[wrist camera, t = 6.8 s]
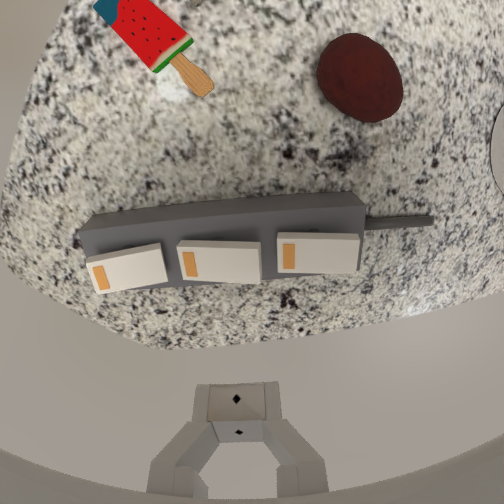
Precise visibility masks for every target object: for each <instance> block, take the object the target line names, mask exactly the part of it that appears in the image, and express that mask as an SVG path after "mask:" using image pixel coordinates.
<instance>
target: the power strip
mask: <svg viewBox="0 0 504 504" xmlns="http://www.w3.org/2000/svg"><path fill="white" fill-rule="evenodd" d="M365 216H366V205H365V204H364V203H363V202H362V201H361V200H360V199H359V198H358V197H357V196H356V195H355V194H354V193H353V192H352V191H347V192H324V193H305V194H289V195H274V196H260V197H247V198H235V199H224V200H213V201H203V202H193V203H184V204H175V205H166V206H158V207H149V208H141V209H134V210H126V211H119V212H111V213H104V214H98V215H93V216H92V217H91V218H90V219H89V220H88V221H87V222H86V223H85V225H84V226H83V227H82V228H81V229H80V230H79V231H78V233H79V236H80V240H81V243H82V246H83V249H84V252H85V255H86V258H87V259H88V257H91V256H95V255H100V254H105V253H110V252H115V251H120V250H125V249H130V248H135V247H140V246H145V245H150V244H155V243H161V248H162V252H163V257H164V261H165V265H166V270H167V274H168V282H163V283H158V284H152V285H147V286H142V287H137V288H131V289H126V290H135V289H152V288H167V287H181V286H195V285H209V284H221V283H226V282H209V281H194V280H183V276H182V271H181V267H180V262H179V257H178V252H177V247H176V246H177V245H178V244H179V243H180V241H181V240H202V241H241V242H261V260H262V280H269V279H280V278H290V277H301V276H311V275H321V274H317V273H278V259H277V235H278V232H302V233H351V234H358V235H359V239H360V245H359V253H358V262H357V269H356V271H358V270H359V269H360V261H361V253H362V245H363V236H364V230H378V229H392V228H407V227H421V226H431V225H433V223H434V219H433V217H432V216H410V217H391V218H374V219H365Z"/></svg>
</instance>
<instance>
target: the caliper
mask: <svg viewBox="0 0 504 504" xmlns="http://www.w3.org/2000/svg"><path fill="white" fill-rule="evenodd" d="M190 1H191V2H192V3H193V5H194V6H195V7H197V6H200V5H201V1H202V0H190Z"/></svg>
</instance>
